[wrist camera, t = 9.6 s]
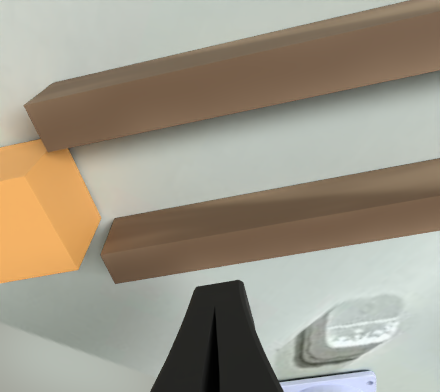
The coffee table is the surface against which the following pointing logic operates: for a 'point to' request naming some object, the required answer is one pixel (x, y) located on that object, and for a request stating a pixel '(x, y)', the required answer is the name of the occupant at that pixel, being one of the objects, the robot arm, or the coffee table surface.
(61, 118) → the walnut chute
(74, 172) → the block
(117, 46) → the coffee table surface
